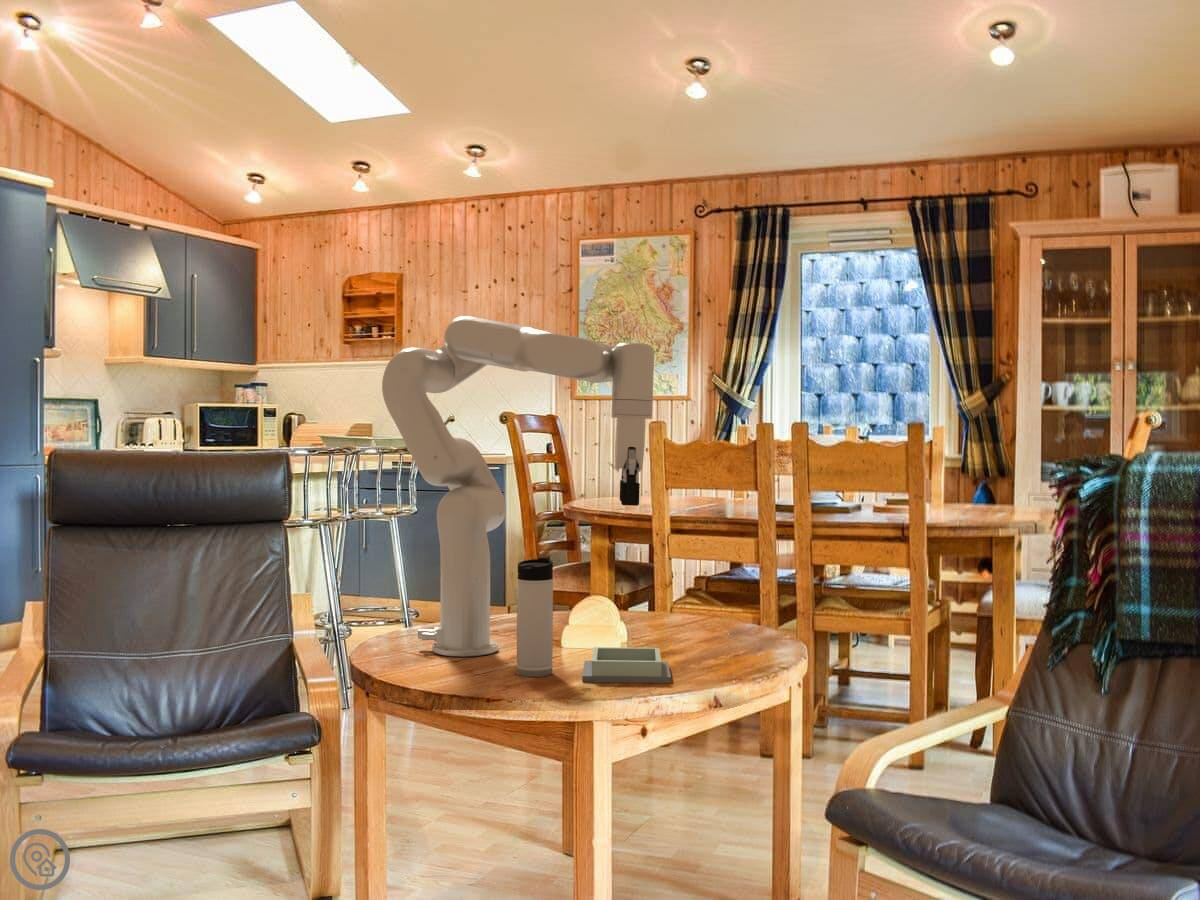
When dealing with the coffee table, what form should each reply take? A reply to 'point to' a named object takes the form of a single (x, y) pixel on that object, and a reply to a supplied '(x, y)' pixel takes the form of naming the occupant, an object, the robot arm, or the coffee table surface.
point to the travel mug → (535, 617)
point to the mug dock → (626, 666)
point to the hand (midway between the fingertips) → (629, 503)
